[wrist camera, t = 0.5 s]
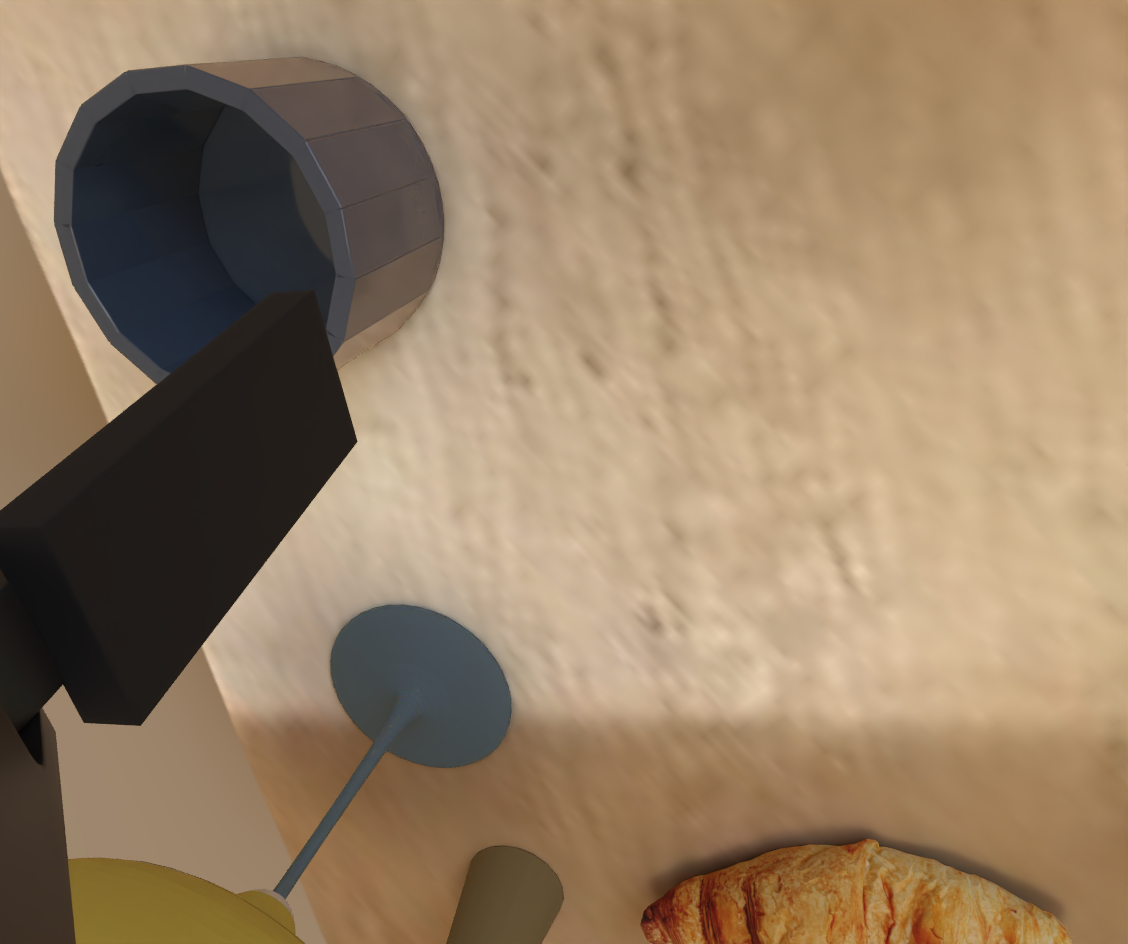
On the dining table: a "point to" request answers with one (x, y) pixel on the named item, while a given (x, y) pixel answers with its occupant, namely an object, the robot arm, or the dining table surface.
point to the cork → (506, 899)
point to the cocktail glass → (396, 724)
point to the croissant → (845, 903)
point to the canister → (244, 205)
